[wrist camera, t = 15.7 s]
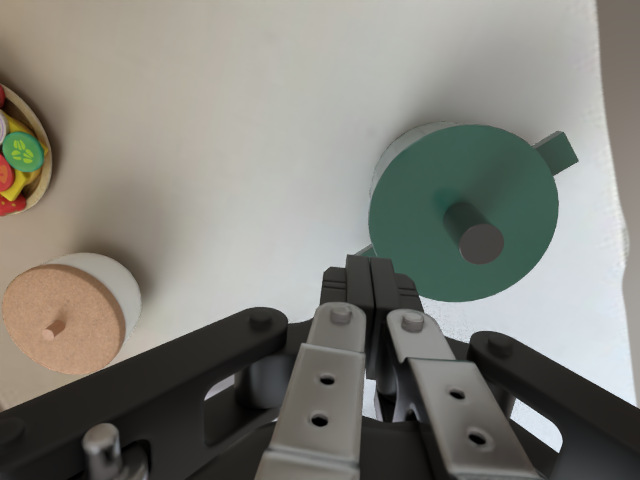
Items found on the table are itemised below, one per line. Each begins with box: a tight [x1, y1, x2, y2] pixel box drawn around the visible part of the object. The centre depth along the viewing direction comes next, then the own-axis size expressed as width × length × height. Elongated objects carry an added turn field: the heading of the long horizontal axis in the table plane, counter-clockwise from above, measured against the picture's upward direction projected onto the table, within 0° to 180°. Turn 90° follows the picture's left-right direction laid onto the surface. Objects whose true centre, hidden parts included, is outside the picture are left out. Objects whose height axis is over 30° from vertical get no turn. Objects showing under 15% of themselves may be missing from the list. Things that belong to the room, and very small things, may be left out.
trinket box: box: [2, 253, 142, 374], centre depth 40 cm, size 11×11×9 cm
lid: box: [368, 124, 559, 302], centre depth 28 cm, size 13×13×6 cm
